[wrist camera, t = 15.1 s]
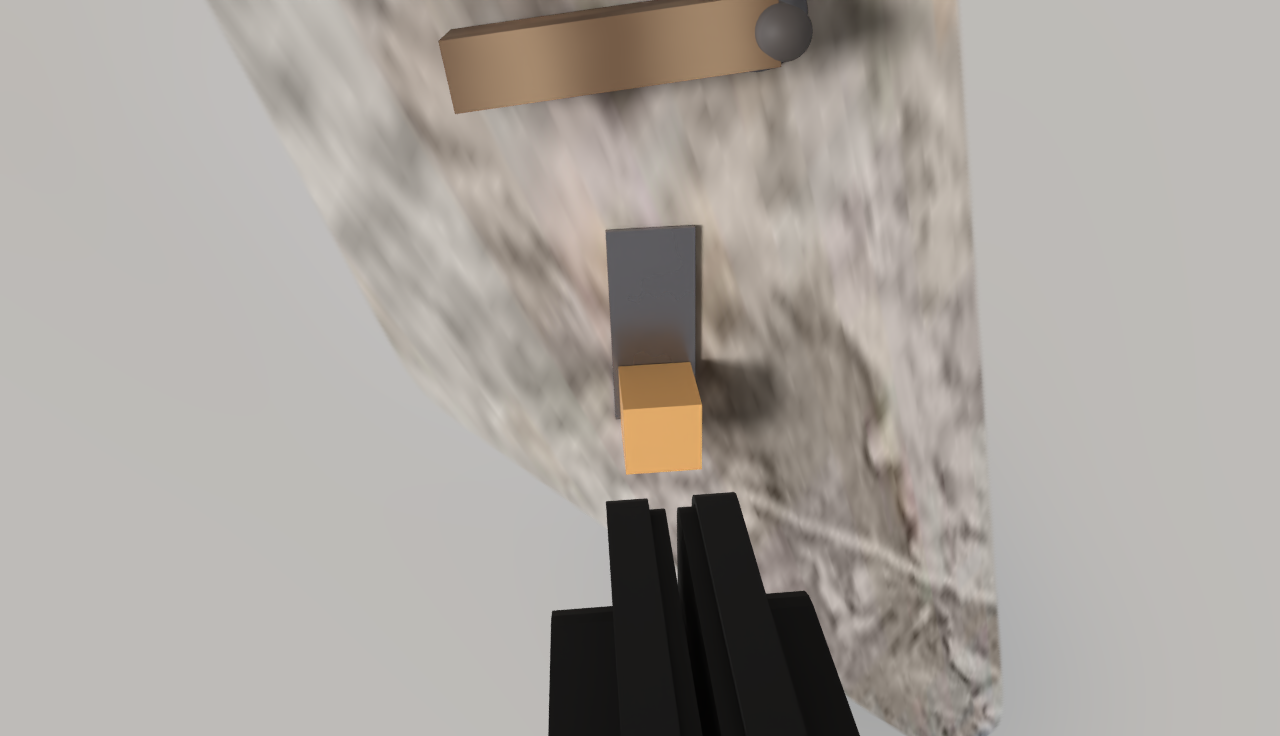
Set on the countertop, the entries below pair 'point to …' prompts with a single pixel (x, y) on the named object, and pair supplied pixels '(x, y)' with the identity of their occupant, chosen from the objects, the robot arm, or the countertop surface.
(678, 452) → the orange cube
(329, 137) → the countertop surface
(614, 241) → the grey flat plate
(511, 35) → the bar
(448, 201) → the countertop surface
